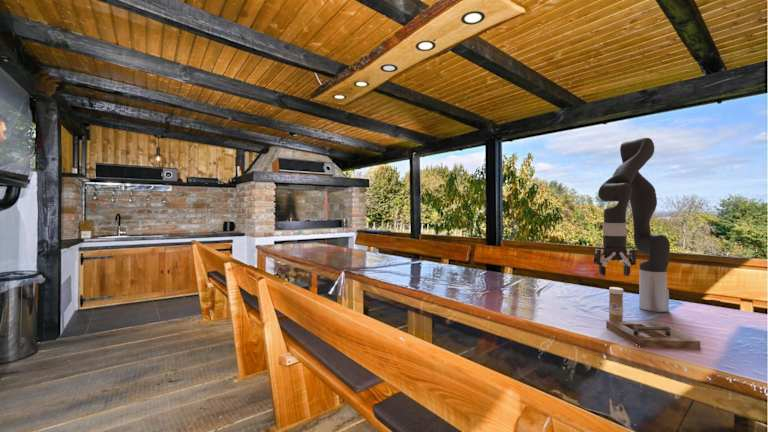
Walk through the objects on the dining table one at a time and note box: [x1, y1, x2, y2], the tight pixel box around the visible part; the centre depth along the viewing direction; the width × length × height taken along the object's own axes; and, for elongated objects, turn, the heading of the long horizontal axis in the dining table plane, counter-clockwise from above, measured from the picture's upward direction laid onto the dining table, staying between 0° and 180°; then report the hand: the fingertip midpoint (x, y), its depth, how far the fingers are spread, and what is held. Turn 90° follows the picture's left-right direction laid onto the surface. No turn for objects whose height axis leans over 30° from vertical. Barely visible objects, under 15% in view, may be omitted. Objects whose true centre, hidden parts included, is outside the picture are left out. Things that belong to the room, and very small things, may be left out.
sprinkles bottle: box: [608, 286, 624, 321], centre depth 127 cm, size 5×5×13 cm
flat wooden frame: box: [606, 320, 701, 350], centre depth 112 cm, size 18×18×2 cm
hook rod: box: [633, 325, 672, 336], centre depth 108 cm, size 11×1×3 cm, turn 85°
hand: (614, 275), depth 128 cm, fingers open, 8 cm apart
